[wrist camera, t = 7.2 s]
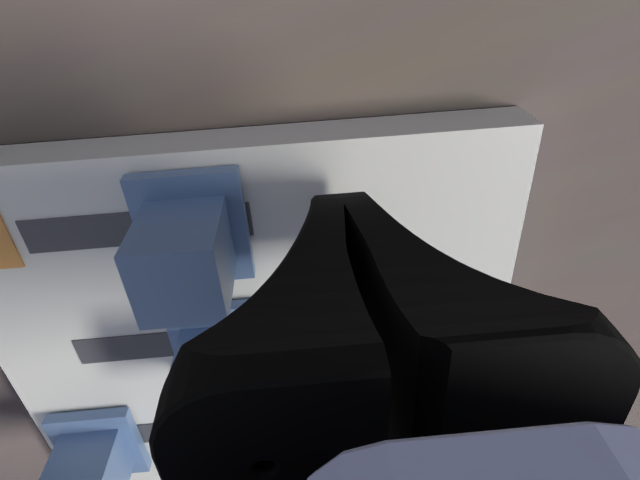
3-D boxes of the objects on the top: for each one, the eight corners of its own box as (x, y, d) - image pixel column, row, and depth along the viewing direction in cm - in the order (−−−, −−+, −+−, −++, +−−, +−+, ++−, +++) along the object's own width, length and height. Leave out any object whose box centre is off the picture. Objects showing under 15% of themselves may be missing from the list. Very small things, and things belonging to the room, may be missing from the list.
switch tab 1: (151, 461, 18) (132, 541, 15) (77, 468, 18) (46, 549, 15) (128, 406, 16) (102, 487, 14) (45, 414, 16) (5, 496, 14)
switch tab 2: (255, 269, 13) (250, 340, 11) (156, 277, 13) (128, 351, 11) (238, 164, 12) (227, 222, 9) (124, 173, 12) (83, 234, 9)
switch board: (460, 438, 21) (471, 472, 20) (98, 473, 21) (86, 509, 19) (518, 105, 13) (545, 125, 12) (-77, 151, 13) (-119, 176, 11)
